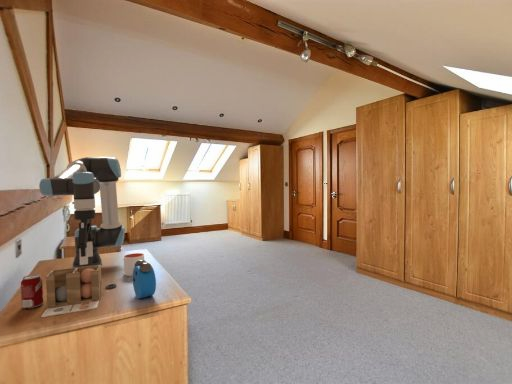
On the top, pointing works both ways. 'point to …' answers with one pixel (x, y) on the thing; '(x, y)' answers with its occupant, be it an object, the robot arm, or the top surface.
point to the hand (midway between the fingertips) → (86, 260)
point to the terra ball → (86, 275)
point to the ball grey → (61, 294)
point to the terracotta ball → (86, 290)
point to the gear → (110, 286)
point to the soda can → (31, 291)
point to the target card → (70, 308)
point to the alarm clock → (143, 279)
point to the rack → (72, 286)
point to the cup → (131, 262)
